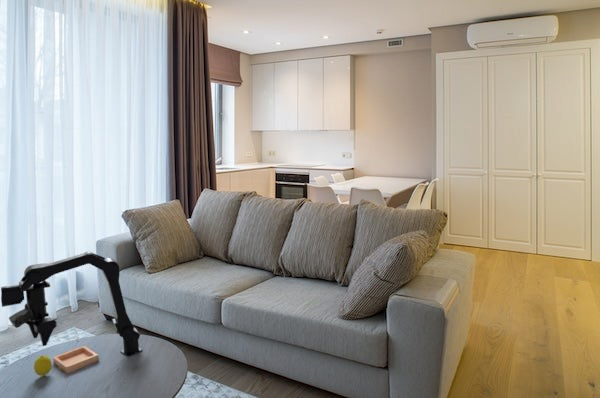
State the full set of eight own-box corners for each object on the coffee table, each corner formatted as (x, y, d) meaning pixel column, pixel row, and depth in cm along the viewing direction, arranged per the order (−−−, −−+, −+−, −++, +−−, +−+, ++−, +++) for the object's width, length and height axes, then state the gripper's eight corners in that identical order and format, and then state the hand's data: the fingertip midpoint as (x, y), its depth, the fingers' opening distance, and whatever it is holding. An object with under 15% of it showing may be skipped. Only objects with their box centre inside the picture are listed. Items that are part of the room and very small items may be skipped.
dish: (98, 360, 171) (98, 354, 171) (66, 373, 162) (66, 367, 162) (84, 351, 179) (84, 345, 179) (53, 363, 170) (52, 357, 169)
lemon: (50, 370, 165) (48, 350, 164) (54, 376, 161) (52, 355, 160) (33, 376, 161) (31, 355, 160) (37, 381, 157) (35, 360, 156)
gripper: (2, 300, 158) (6, 341, 160) (19, 313, 145) (23, 358, 147) (36, 292, 166) (40, 331, 168) (55, 304, 154) (59, 346, 156)
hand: (40, 341), depth 159 cm, fingers open, 9 cm apart
